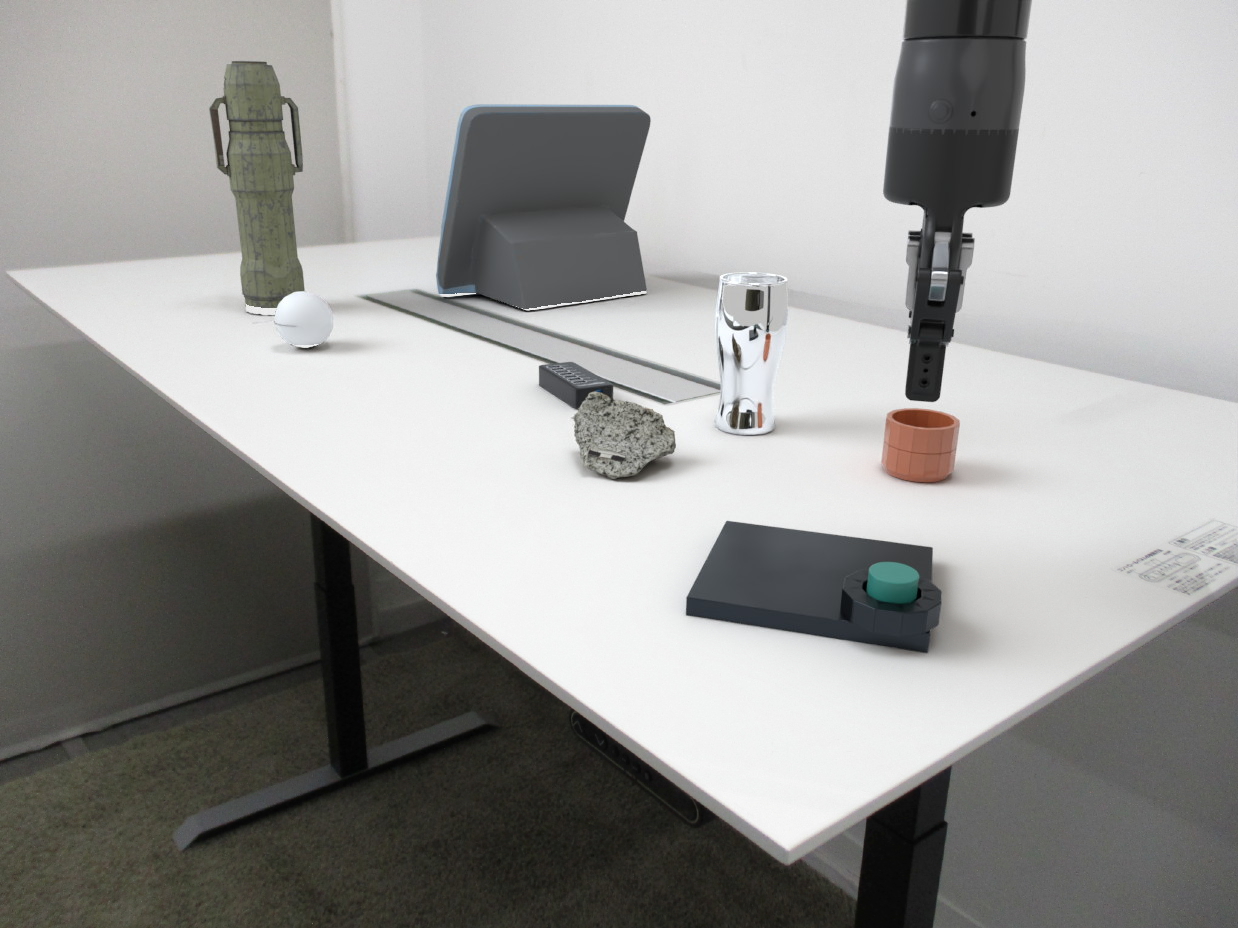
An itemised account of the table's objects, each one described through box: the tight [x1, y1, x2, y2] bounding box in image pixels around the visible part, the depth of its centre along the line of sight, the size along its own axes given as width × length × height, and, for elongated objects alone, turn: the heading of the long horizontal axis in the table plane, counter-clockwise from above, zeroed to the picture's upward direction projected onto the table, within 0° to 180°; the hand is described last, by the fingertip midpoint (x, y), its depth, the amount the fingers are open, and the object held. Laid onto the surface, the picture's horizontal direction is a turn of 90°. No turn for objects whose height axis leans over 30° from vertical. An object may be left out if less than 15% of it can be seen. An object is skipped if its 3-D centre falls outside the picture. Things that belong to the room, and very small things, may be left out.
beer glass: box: [714, 271, 789, 436], centre depth 100 cm, size 7×7×15 cm
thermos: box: [208, 60, 306, 308], centre depth 147 cm, size 9×12×35 cm
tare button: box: [867, 562, 919, 604], centre depth 62 cm, size 3×3×2 cm
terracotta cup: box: [880, 407, 961, 483], centre depth 89 cm, size 6×6×5 cm
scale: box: [685, 520, 943, 654], centre depth 68 cm, size 15×14×3 cm
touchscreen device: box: [435, 103, 652, 309], centre depth 162 cm, size 35×20×30 cm, turn 130°
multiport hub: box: [538, 361, 614, 410], centre depth 112 cm, size 4×11×2 cm, turn 27°
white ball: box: [252, 290, 334, 345], centre depth 129 cm, size 10×7×7 cm
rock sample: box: [570, 392, 677, 480], centre depth 90 cm, size 10×8×9 cm
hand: (921, 397), depth 67 cm, fingers closed
